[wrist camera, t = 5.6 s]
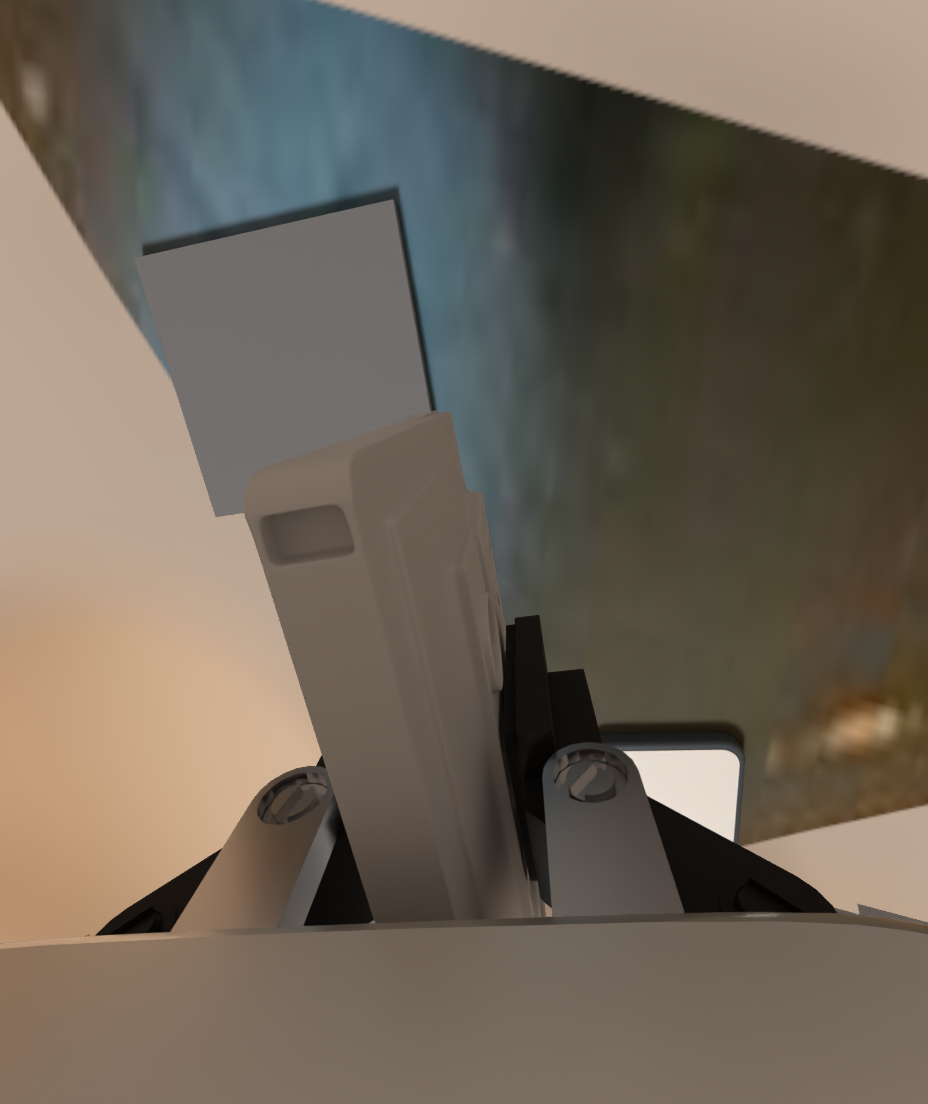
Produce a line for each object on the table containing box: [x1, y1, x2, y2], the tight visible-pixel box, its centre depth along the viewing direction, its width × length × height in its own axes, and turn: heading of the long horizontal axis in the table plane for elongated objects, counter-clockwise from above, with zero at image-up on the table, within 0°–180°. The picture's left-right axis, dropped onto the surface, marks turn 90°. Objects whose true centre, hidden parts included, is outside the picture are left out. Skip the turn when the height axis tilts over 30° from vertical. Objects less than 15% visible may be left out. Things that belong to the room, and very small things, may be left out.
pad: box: [134, 199, 432, 517], centre depth 24 cm, size 12×12×1 cm
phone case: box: [600, 732, 745, 844], centre depth 31 cm, size 9×2×16 cm
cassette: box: [244, 410, 546, 923], centre depth 9 cm, size 12×2×8 cm, turn 10°
